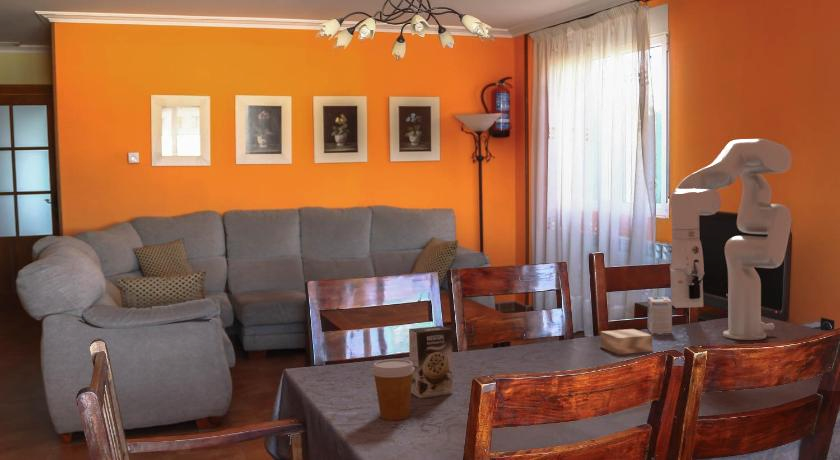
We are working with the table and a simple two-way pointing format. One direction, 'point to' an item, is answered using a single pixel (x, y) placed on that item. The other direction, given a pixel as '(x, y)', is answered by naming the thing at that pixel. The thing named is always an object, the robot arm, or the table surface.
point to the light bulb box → (659, 315)
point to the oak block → (626, 341)
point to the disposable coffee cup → (393, 387)
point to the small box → (683, 290)
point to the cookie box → (431, 361)
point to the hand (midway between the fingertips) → (686, 296)
